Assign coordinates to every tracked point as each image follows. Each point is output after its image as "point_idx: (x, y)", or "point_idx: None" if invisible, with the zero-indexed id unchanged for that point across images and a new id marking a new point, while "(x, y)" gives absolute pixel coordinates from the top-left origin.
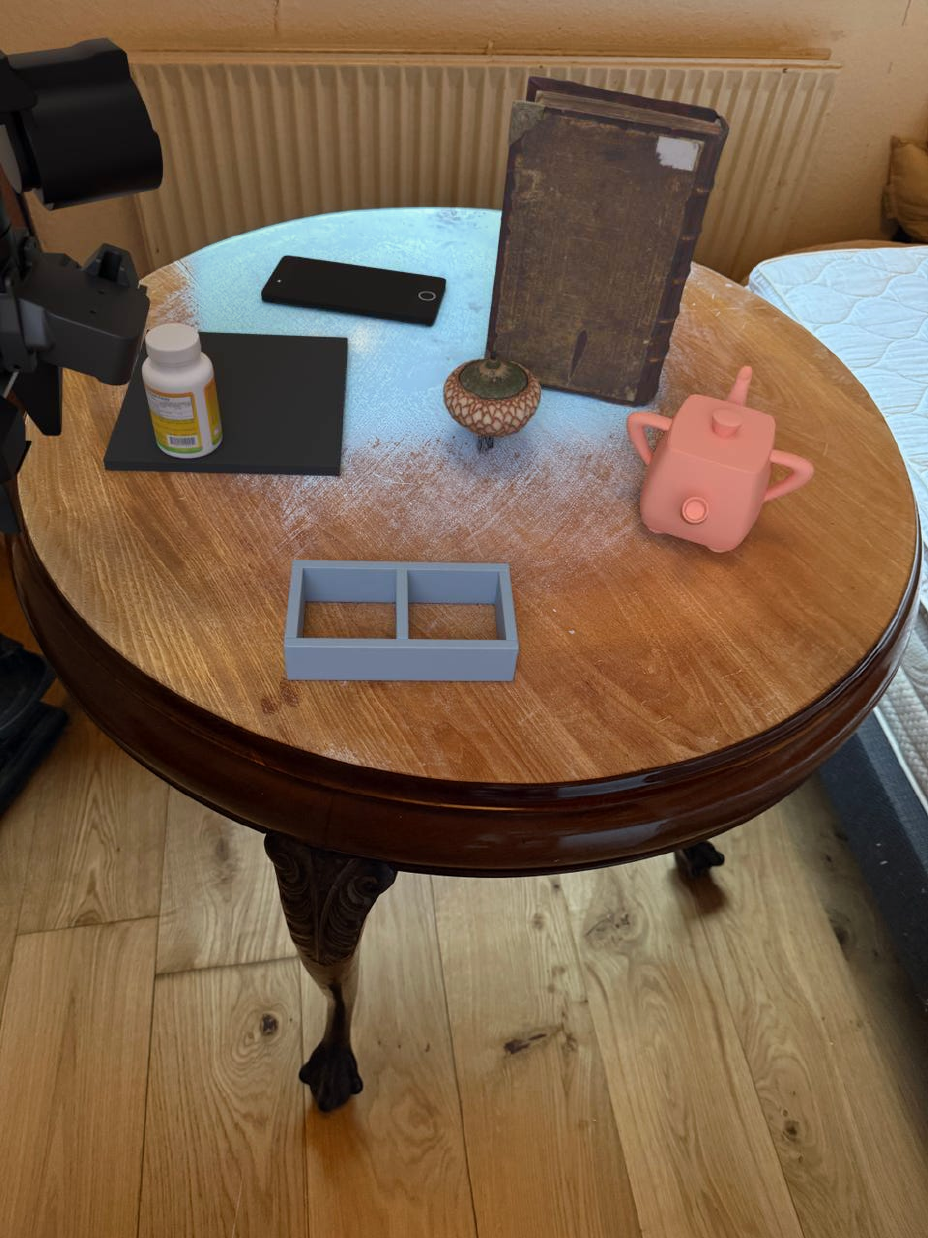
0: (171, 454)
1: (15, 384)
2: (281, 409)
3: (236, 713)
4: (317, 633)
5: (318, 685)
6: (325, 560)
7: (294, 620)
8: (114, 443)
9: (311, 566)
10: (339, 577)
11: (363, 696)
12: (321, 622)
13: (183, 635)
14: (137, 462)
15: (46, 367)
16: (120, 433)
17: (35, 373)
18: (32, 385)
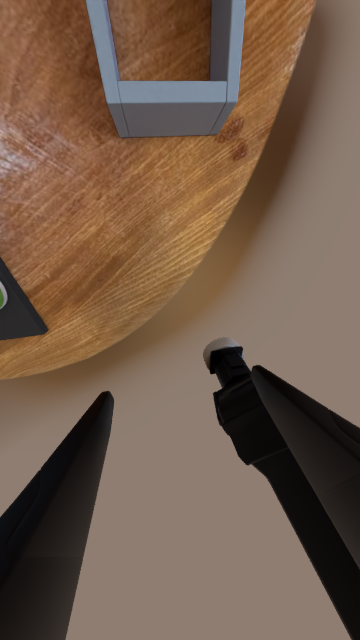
0: (6, 295)
1: (93, 493)
2: None
3: (243, 182)
4: None
5: None
6: (92, 27)
7: (203, 87)
8: (21, 334)
9: (111, 61)
10: (106, 15)
11: None
12: None
13: (178, 239)
14: (31, 315)
15: (43, 541)
16: (8, 334)
17: (66, 520)
18: (83, 486)
